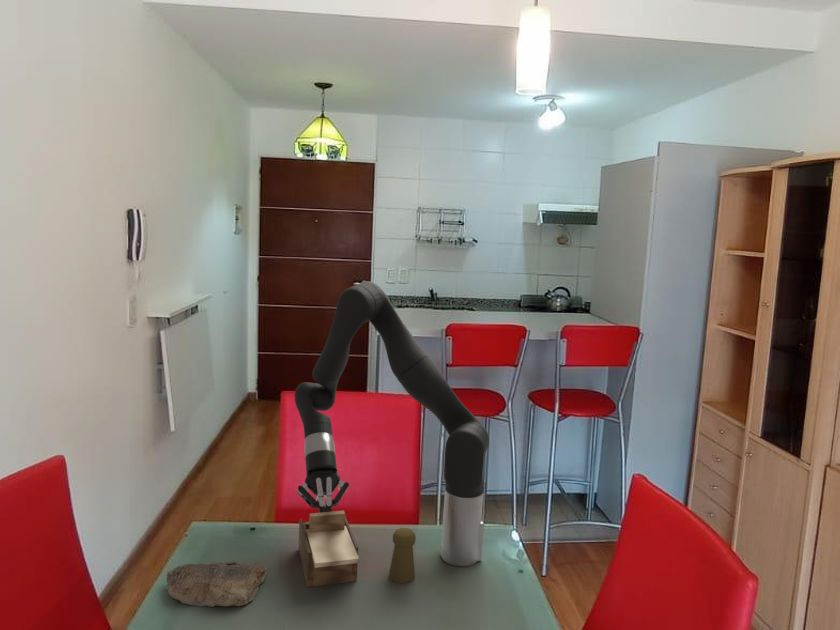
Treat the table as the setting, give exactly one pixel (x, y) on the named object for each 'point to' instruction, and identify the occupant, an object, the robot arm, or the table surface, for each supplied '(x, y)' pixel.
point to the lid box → (324, 573)
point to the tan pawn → (403, 556)
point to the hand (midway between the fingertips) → (326, 523)
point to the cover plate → (330, 540)
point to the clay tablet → (215, 583)
